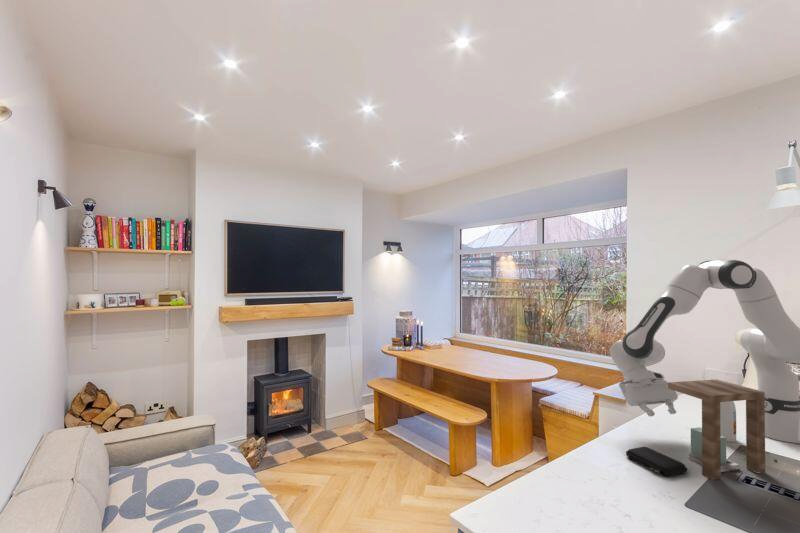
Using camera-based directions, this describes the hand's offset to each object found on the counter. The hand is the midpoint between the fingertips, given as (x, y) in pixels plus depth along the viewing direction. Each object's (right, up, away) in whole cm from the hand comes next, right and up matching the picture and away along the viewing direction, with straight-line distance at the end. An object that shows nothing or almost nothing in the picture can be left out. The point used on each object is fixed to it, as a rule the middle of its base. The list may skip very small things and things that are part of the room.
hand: (663, 414), depth 137 cm
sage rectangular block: (+3, -9, -16) cm, 18 cm away
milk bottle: (+23, -9, +2) cm, 25 cm away
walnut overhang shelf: (+4, -9, -18) cm, 20 cm away
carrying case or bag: (-16, -9, -19) cm, 26 cm away
